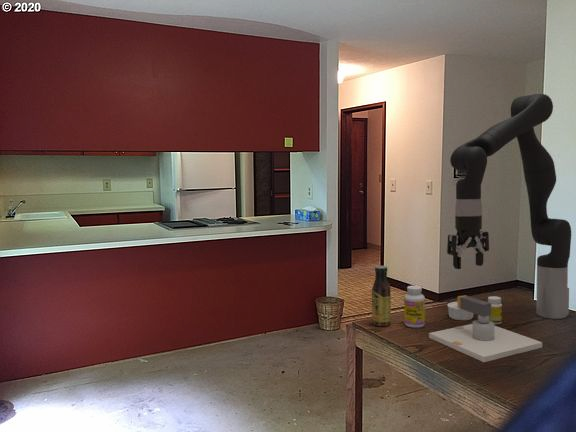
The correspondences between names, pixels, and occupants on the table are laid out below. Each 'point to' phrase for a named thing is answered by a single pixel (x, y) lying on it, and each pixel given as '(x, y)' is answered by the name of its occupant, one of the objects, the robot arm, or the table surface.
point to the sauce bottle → (381, 298)
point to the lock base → (485, 341)
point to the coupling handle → (475, 307)
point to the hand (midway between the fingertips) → (468, 267)
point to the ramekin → (458, 312)
